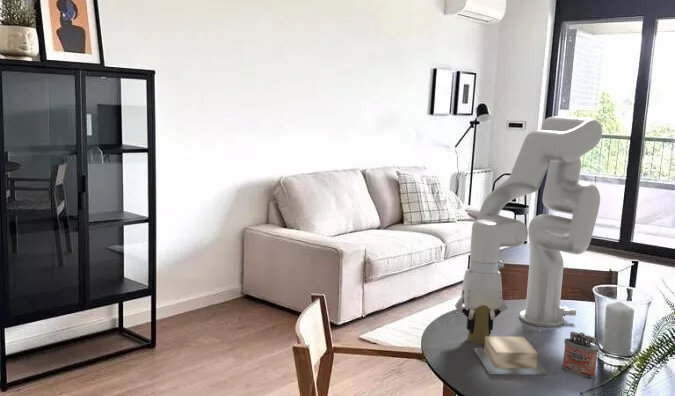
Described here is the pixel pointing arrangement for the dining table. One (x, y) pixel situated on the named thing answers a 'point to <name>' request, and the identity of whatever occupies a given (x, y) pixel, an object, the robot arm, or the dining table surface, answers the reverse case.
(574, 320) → the dining table surface
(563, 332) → the dining table surface
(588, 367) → the lighter
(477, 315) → the olive brown knobbed peg
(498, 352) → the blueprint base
